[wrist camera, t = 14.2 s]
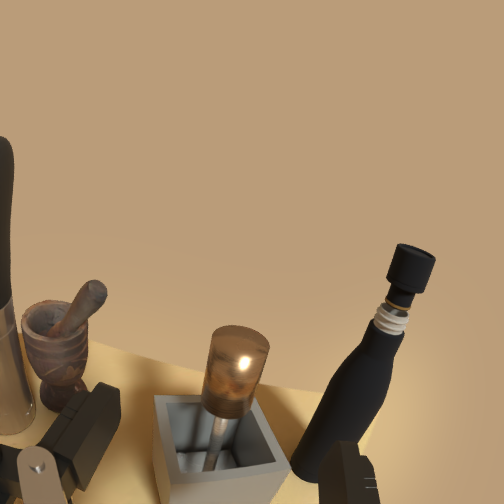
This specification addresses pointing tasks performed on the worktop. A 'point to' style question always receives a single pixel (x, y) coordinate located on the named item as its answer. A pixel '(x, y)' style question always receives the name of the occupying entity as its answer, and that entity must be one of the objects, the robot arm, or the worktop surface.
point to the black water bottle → (364, 367)
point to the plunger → (227, 391)
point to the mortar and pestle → (61, 342)
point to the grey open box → (236, 439)
